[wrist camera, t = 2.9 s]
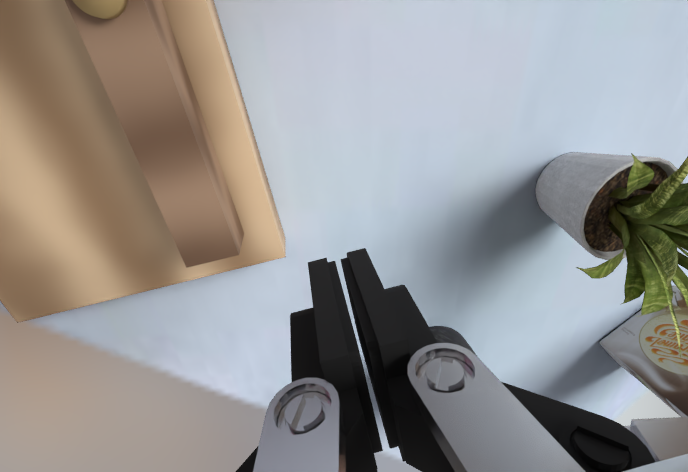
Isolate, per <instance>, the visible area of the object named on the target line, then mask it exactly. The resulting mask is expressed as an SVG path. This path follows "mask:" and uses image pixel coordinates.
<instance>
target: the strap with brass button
mask: <svg viewBox="0 0 688 472" xmlns="http://www.w3.org/2000/svg"><path fill="white" fill-rule="evenodd" d="M65 2H66V4H67V7H68V9H69V11H70V13H71V15H72V18H73V20H74V22H75V24H76V26H77V29H78V31H79V33H80V35H81V37H82V40H83V42H84V44H85V46H86V48H87V51H88V53H89V55H90V57H91V59H92V61H93V64H94V66H95V68H96V70H97V72H98V75H99V77H100V79H101V81H102V83H103V86H104V88H105V90H106V92H107V94H108V97H109V99H110V101H111V103H112V105H113V108H114V110H115V112H116V114H117V116H118V119H119V121H120V123H121V125H122V127H123V130H124V132H125V134H126V136H127V138H128V140H129V143H130V145H131V147H132V149H133V151H134V154H135V156H136V158H137V160H138V162H139V165H140V167H141V169H142V171H143V173H144V176H145V178H146V180H147V182H148V184H149V187H150V189H151V191H152V193H153V195H154V198H155V200H156V202H157V204H158V206H159V208H160V211H161V213H162V215H163V217H164V219H165V222H166V224H167V226H168V228H169V230H170V233H171V235H172V237H173V239H174V241H175V244H176V246H177V248H178V250H179V252H180V255H181V257H182V259H183V261H184V263H185V266H186V268H188V267H192V266H196V265H200V264H204V263H208V262H213V261H217V260H221V259H225V258H229V257H233V256H237V255H239V253H240V249H241V245H242V241H243V237H244V231H243V228H242V225H241V222H240V220H239V217H238V214H237V211H236V208H235V205H234V203H233V200H232V197H231V194H230V191H229V189H228V186H227V183H226V180H225V177H224V174H223V172H222V169H221V166H220V163H219V160H218V158H217V155H216V152H215V149H214V146H213V143H212V141H211V138H210V135H209V132H208V129H207V127H206V124H205V121H204V118H203V115H202V113H201V110H200V107H199V104H198V101H197V98H196V96H195V93H194V90H193V87H192V84H191V82H190V79H189V76H188V73H187V70H186V67H185V65H184V62H183V59H182V56H181V53H180V51H179V48H178V45H177V42H176V39H175V37H174V34H173V31H172V28H171V25H170V22H169V20H168V17H167V14H166V11H165V8H164V6H163V3H162V0H65Z"/></svg>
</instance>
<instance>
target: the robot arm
mask: <svg viewBox="0 0 688 472" xmlns="http://www.w3.org/2000/svg"><path fill="white" fill-rule="evenodd" d="M341 263H342V268H343V272H344V276H345V281H346V285H347V289H348V294H349V298H350V302H351V306H352V311H353V315H354V319H355V324H356V328H357V332H358V336H359V340H360V344H361V348H362V351H363V355H364V358H365V362H366V365H367V369H368V372H369V376H370V380H371V383H372V387H373V390H374V394H375V397H376V401H377V404H378V408H379V412H380V415H381V419H382V422H383V426H384V429H385V433H386V436H387V440H388V443H389V447H390V448H394V447H397V446H399V449H400V453H401V456H402V459H403V461H406V463H407V464H409V465H411V466H413V467H415V468H416V469H418V470H420V471H422V472H688V417H676V418H675V417H674V418H654V419H633V420H632V421H631V425H630V426H622V425H621V424H619V423H617V422H615V421H612V420H610V419H608V418H606V417H603V416H600V415H597V414H595V413H592V412H589V411H586V410H583V409H580V408H577V407H574V406H571V405H568V404H565V403H562V402H559V401H556V400H553V399H550V398H547V397H544V396H541V395H538V394H535V393H532V392H529V391H527V390H524V389H521V388H518V387H515V386H512V385H509V384H506V383H503V382H501V381H500V380H499V379H498V378H497V377H496V376H495V375H494V374H493V373H492V372H491V371H490V370H489V369H488V368H487V366H486V365H485V364H484V363H483V362H482V361H481V360H480V359H479V358H478V357H477V356H476V355H475V354H474V353H472V352H471V351H470V350H469V349H467V348H464V347H462V346H460V345H456V344H451V343H438V342H437V340H436V339H435V337H434V335H433V333H432V332H431V330H430V328H429V326H428V325H427V323H426V321H425V320H424V318H423V316H422V314H421V313H420V311H419V309H418V307H417V306H416V304H415V302H414V300H413V299H412V297H411V295H410V293H409V292H408V290H407V288H406V287H405V285H400V286H396V287H392V288H388V289H384V288H383V285H382V283H381V281H380V279H379V277H378V275H377V273H376V270H375V268H374V266H373V264H372V262H371V260H370V257H369V255H368V253H367V251H366V249H365V248H364V249H360V250H356V251H352V252H348V253H347V258H344V259H341ZM308 267H309V276H310V284H311V292H312V300H313V308H310V309H306V310H302V311H298V312H294V313H291V315H290V326H291V372H292V383H290V384H288V385H286V386H285V387H284V388H282V389H281V390H280V391H279V392H278V393H277V394H276V395H275V396H274V398H273V399H272V400H271V402H270V404H269V406H268V409H267V412H266V415H265V420H264V424H263V429H262V434H261V438H260V443H259V446H258V447H257V448H256V449H255V450H254V452H253V453H252V454H251V455H250V456H249V457H248V458H247V459H246V461H245V462H244V463H243V464H242V465H241V466H240V467H239V469H238V470H237V471H236V472H377V465H376V461H375V457H374V453H376V452H379V451H383V450H382V445H381V441H380V437H379V433H378V428H377V424H376V420H375V416H374V412H373V407H372V403H371V399H370V395H369V390H368V386H367V382H366V378H365V374H364V369H363V365H362V361H361V357H360V353H359V349H358V345H357V341H356V338H355V334H354V330H353V326H352V323H351V319H350V315H349V312H348V308H347V304H346V300H345V297H344V293H343V289H342V286H341V282H340V278H339V274H338V271H337V267H336V263H335V261H332V262H327V258H324V259H320V260H316V261H312V262H308Z"/></svg>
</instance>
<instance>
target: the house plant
mask: <svg viewBox="0 0 688 472" xmlns="http://www.w3.org/2000/svg"><path fill="white" fill-rule="evenodd" d="M631 154H632V153H631ZM687 174H688V157H687V158H686V160H685V161H684V163H683V164H682V165H681V167H680V168H679V169H677V168H676V167H675V166H674V165H673V164H672V163H671V162H669V161H667V160H664V159H661V158H656V157H641V156H634V155H633V154H632V156H626V155H611V154H596V153H581V152H571V153H567V154H563V155H561V156H559V157H557V158H555V159H554V160H553V161H552V162H550V163H549V164H548V165H547V166H546V168H545V169H544V170H543V171H542V173H541V175H540V176H539V178H538V180H537V184H536V188H535V191H536V198H537V202H538V204H539V206H540V208H541V209H542V210H543V211H544V212H545V213H546V214H547V215H548V216H549V217H550V218H551V219H553V220H554V221H555V222H556V223H557V224H558V225H559V226H560V227H561V228H563V229H564V230H565V231H566V232H567V233H568V234H569V235H570V236H571V237H572V238H574V239H575V240H576V241H577V242H578V243H579V244H580V245H581V246H582V247H583V248H585V249H586V250H587V251H588V252H589V253H591V254H592V255H594V256H595V257H598V258H601V259H605V260H608V261H606V262H605V263H603V264H601V265H599V266H597V267H592V268H587V269H582V268H578V267H576V268H578V269H580V270H582V271H584V272H585V273H586V274H588V275H589V276H590V277H591V278H603V277H606V276H607V275H609V274H610V273H612V272H613V270H614V269H615V268H616V267H617V266H618V265H619V263H620V262H621V260H622V259H623V258H626V257H627V262H628V264H627V274H626V281H625V300H624V303H627V302H629V301H631V300H633V299H636V298H638V297H640V295H641V294H642V293H643V292H644V291H645V293H644V300H643V304H642V310H641V316H642V315H646V314H650V313H653V312H657V311H660V310H662V309H663V308H665V307H666V306H668V305H669V308H670V312H671V315H672V319H673V322H674V325H675V329H676V334H677V339H678V346H679V352H680V358H681V349H680V330H679V326H678V322H677V319H676V316H675V313H674V309H673V305H672V298H673V290H672V286H671V280H672V281H673V282H674V284H675V285H676V286H677V288H678V289H679V290H680V292H681V293H682V294H683V296H684V298H685V301H686V304H687V306H688V277H687V276H686V275H685V273H684V272H683V271H682V270H681V269H680V267H679V266H678V264H679V265H681V266H682V267H684V268H686V269H687V270H688V257H686V256H685V255H683V254H681V253H679V252H678V251H677V247H678V248H679V249H680V250H681V251H682V252H683V253H685V254H686V255H687V256H688V253H687V252H686V251H685V250H683V249H682V248H684V249H686V250H687V251H688V183H686V184H683V180H684V179H685V177H686V176H687ZM681 247H682V248H681ZM622 304H623V303H622Z"/></svg>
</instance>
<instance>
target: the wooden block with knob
mask: <svg viewBox="0 0 688 472" xmlns="http://www.w3.org/2000/svg"><path fill="white" fill-rule="evenodd" d="M162 3H163V6H164V8H165V11H166V14H167V17H168V20H169V22H170V25H171V28H172V31H173V34H174V37H175V39H176V42H177V45H178V48H179V51H180V53H181V56H182V59H183V62H184V65H185V67H186V70H187V73H188V76H189V79H190V82H191V84H192V87H193V90H194V93H195V96H196V98H197V101H198V104H199V107H200V110H201V113H202V115H203V118H204V121H205V124H206V127H207V129H208V132H209V135H210V138H211V141H212V143H213V146H214V149H215V152H216V155H217V158H218V160H219V163H220V166H221V169H222V172H223V174H224V177H225V180H226V183H227V186H228V189H229V191H230V194H231V197H232V200H233V203H234V205H235V208H236V211H237V214H238V217H239V220H240V222H241V225H242V228H243V231H244V237H243V241H242V245H241V249H240V253H239V255H237V256H233V257H229V258H225V259H221V260H217V261H213V262H208V263H204V264H200V265H196V266H192V267H188V268H186V266H185V263H184V261H183V259H182V257H181V255H180V252H179V250H178V248H177V246H176V244H175V241H174V239H173V237H172V235H171V233H170V230H169V228H168V226H167V224H166V222H165V219H164V217H163V215H162V213H161V211H160V208H159V206H158V204H157V202H156V200H155V198H154V195H153V193H152V191H151V189H150V187H149V184H148V182H147V180H146V178H145V176H144V173H143V171H142V169H141V167H140V165H139V162H138V160H137V158H136V156H135V154H134V151H133V149H132V147H131V145H130V143H129V140H128V138H127V136H126V134H125V132H124V130H123V127H122V125H121V123H120V121H119V119H118V116H117V114H116V112H115V110H114V108H113V105H112V103H111V101H110V99H109V97H108V94H107V92H106V90H105V88H104V86H103V83H102V81H101V79H100V77H99V75H98V72H97V70H96V68H95V66H94V64H93V61H92V59H91V57H90V55H89V53H88V51H87V48H86V46H85V44H84V42H83V40H82V37H81V35H80V33H79V31H78V29H77V26H76V24H75V22H74V20H73V18H72V15H71V13H70V11H69V9H68V7H67V4H66V2H65V0H0V301H1V302H2V303H3V305H4V306H5V307H6V309H7V310H8V311H9V313H10V314H11V315H12V317H13V318H14V319H15V321H16V322H17V323H18V322H22V321H26V320H31V319H35V318H39V317H43V316H47V315H51V314H55V313H59V312H63V311H67V310H71V309H75V308H79V307H84V306H88V305H92V304H96V303H100V302H104V301H108V300H112V299H116V298H120V297H124V296H128V295H132V294H137V293H141V292H145V291H149V290H153V289H157V288H161V287H165V286H169V285H173V284H177V283H181V282H185V281H189V280H194V279H198V278H202V277H206V276H210V275H214V274H218V273H222V272H226V271H230V270H234V269H238V268H242V267H247V266H251V265H255V264H259V263H263V262H267V261H271V260H275V259H279V258H283V257H285V236H284V233H283V229H282V226H281V223H280V219H279V216H278V213H277V209H276V206H275V203H274V199H273V196H272V193H271V189H270V186H269V183H268V179H267V176H266V173H265V170H264V166H263V163H262V160H261V156H260V153H259V150H258V146H257V143H256V140H255V136H254V133H253V130H252V126H251V123H250V120H249V116H248V113H247V110H246V107H245V103H244V100H243V97H242V93H241V90H240V87H239V83H238V80H237V77H236V73H235V70H234V67H233V63H232V60H231V57H230V53H229V50H228V47H227V43H226V40H225V37H224V34H223V30H222V27H221V24H220V20H219V17H218V14H217V10H216V7H215V4H214V0H162Z"/></svg>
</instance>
